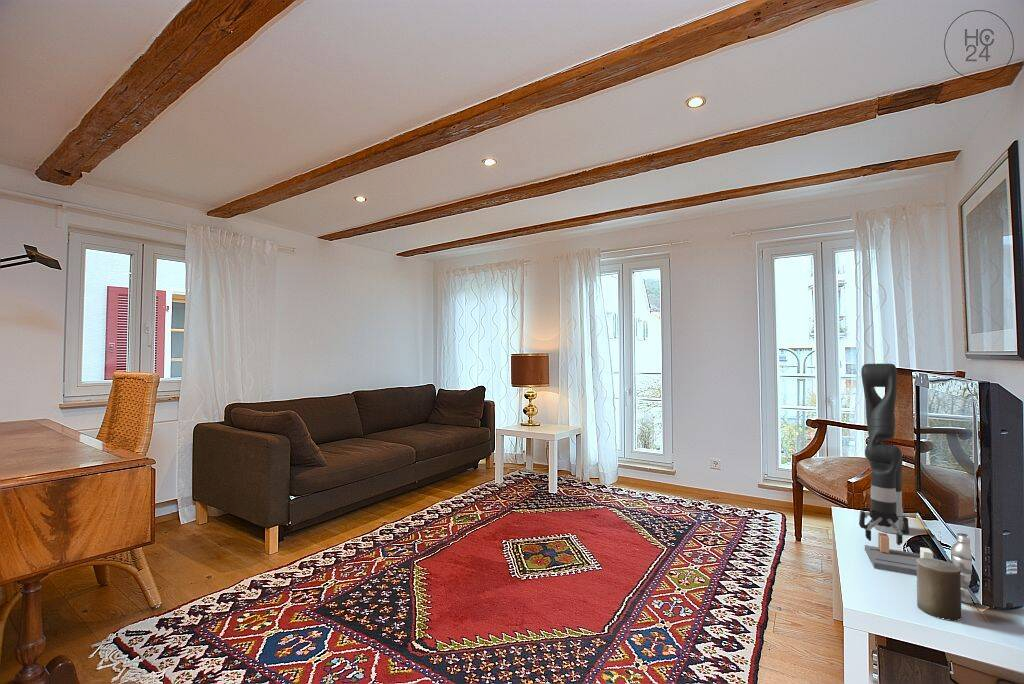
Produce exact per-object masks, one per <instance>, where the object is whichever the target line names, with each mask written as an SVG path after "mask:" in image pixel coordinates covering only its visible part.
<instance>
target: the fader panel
mask: <svg viewBox="0 0 1024 684" xmlns="http://www.w3.org/2000/svg"><path fill="white" fill-rule="evenodd" d="M865 551H866V552H865ZM864 552H865V553H867V554H866V556H867V555H868V556H867V558H868V559H869V561H870V562H871V565H872V567H873V569H877V570H882V571H887V572H894V573H899V574H905V575H910V576H916V577H917V561H916V559H919V558H920V553H917V552H911V551H904V550H898V549H891V548H889V553H885V552H881V551H880V549H879V548H878V546H873V545H867V544H865V545H864ZM933 559H936V558H935V556H934V555H933Z"/></svg>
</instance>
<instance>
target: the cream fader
mask: <svg viewBox="0 0 1024 684" xmlns="http://www.w3.org/2000/svg"><path fill="white" fill-rule="evenodd" d="M919 551H920V552H919V554H920V558H932V559H933V556H934V553H933V551H932V550H931V549H930V548H927V547H921V546H920V547H919Z"/></svg>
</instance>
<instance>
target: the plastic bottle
mask: <svg viewBox="0 0 1024 684" xmlns="http://www.w3.org/2000/svg"><path fill="white" fill-rule="evenodd" d="M968 535H969V534H967V533H963V532H959V533H956V539H955V540H956V542H955V543H954V544H953V545H951V546H950V556H951V562H952V564H953V565H956V566H957V567H959V568H960V570H961V603H966V604H969V605H970V604H971V605H974V604H973V601H972V599H971V597H970V594H969V591H968V588H969V585H970V581H971V575H972V556H971V549H970V538H967V537H968Z"/></svg>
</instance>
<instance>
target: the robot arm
mask: <svg viewBox="0 0 1024 684" xmlns="http://www.w3.org/2000/svg"><path fill="white" fill-rule="evenodd" d="M860 373H861V374H860V375H861V379H862V380H861V381H862V388H863V391H864V392H863V393H864V399H865V417H866V418H865V419H866V427H867V434H868V441H867V445H866V447H865V448H864V449H865V450H864V456H865V458H866V459H867V461H869V466H870V468H871V471H870V472H871V474H870V476H871V479H870V482H871V483H870V485H871V486H870V497H869V498H870V510H869V512H868V511H864V510H862V509H861V510H860V511H859V519H858V520H859V523H858V525H859V526H860V528H861V529H864V530H865V535H864V536H865V538H866V539H867V540H868V541H869V542H871V541H872V531H871V530H872V529H873V528H874V529H876V530H877V531H881V532H882V533H886V534H887V533H889V534H895V536H896V538H895V540H896V545H897V546H900V545H901V544H903V536H904V535H909V534H910V528H909V526H910V525H909V518H908V517H907V516H906V515H904V508H903V499H902V498H903V494H902V493H903V492H902V491H903V490H902V489H903V485H902V484H903V483H902V480H903V479H902V476H903V462H904V461H903V453H902V450H901V448H900V447H899V446H897V445H895V444H888V443H887V444H886V443H883V442H884V441H886V440H887V441H888V440H892V439H893V438H894V437H895V429H896V415H895V408H896V401H897V391H898V378H899V377H898V369H897V366H896V365H895V364H894V363H864V364H863V365H862V367H861V371H860ZM875 388H886V389H885V390H886V391H885V394H884V396H883V397H880V396H879V394H878V393H877V391H876V389H875ZM868 517H870V519H869V521H868V522H867V524H865V523H866V519H867V518H868Z"/></svg>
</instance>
